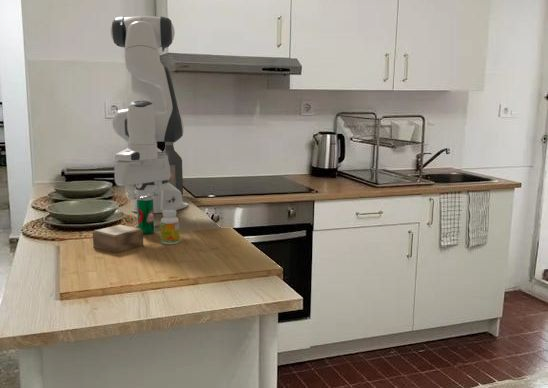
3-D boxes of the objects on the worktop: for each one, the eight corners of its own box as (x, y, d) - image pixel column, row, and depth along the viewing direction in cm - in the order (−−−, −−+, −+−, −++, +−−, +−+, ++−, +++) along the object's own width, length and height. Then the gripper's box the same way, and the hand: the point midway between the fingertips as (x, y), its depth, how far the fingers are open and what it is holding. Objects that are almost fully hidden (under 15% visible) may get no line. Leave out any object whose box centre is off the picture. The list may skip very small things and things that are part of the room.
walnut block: (121, 240, 169) (120, 224, 168) (143, 245, 164) (142, 228, 163) (93, 247, 161) (92, 230, 160) (116, 252, 156) (115, 235, 155)
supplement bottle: (157, 243, 165) (156, 211, 164) (167, 239, 170) (166, 208, 169) (173, 245, 164) (172, 213, 162) (182, 241, 169) (181, 209, 167)
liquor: (173, 198, 238) (171, 128, 233) (156, 197, 242) (153, 128, 237) (185, 195, 247) (183, 127, 241) (168, 194, 250) (166, 127, 245)
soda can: (150, 235, 176) (148, 197, 174) (135, 234, 177) (133, 197, 175) (156, 231, 181) (155, 195, 179) (142, 230, 182) (140, 194, 180)
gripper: (160, 151, 184) (162, 192, 186) (110, 155, 168) (112, 200, 170) (174, 151, 181) (175, 193, 183) (124, 156, 164) (126, 202, 166)
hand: (144, 197), depth 176 cm, fingers open, 8 cm apart
